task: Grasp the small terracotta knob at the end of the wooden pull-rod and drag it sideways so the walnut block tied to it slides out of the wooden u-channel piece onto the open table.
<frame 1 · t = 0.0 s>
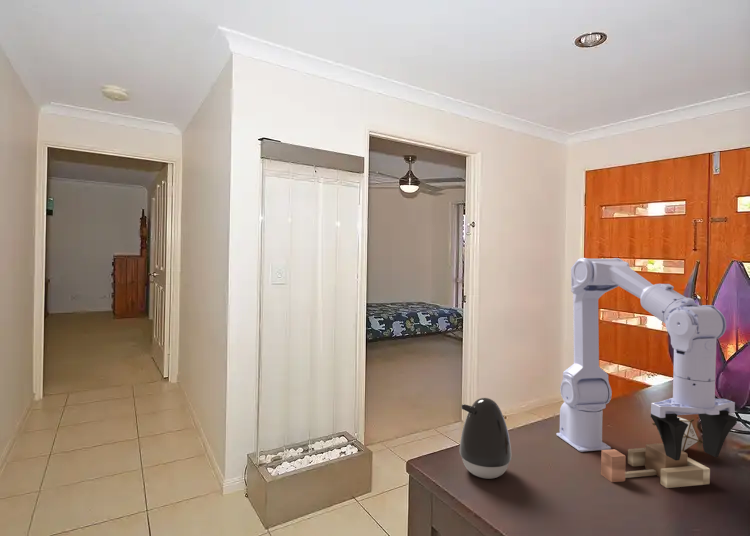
hand: (691, 456, 73), 10 cm above the table, tool pointing down, fingers open, 7 cm apart
wooden u-channel piece: (663, 473, 87), on the table
tethered block: (665, 473, 87), on the table
pump dispenser: (484, 473, 87), on the table
game die: (676, 450, 98), on the table
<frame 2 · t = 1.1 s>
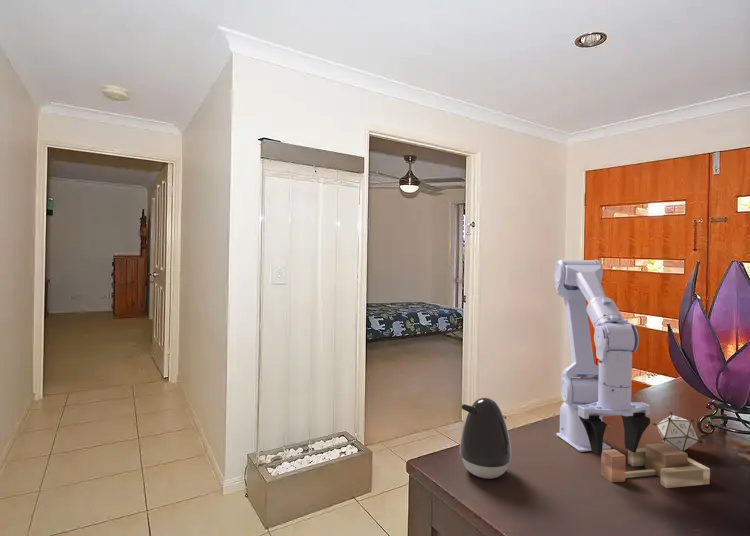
hand: (613, 451, 85), 5 cm above the table, tool pointing down, fingers open, 7 cm apart
nothing on the table moved.
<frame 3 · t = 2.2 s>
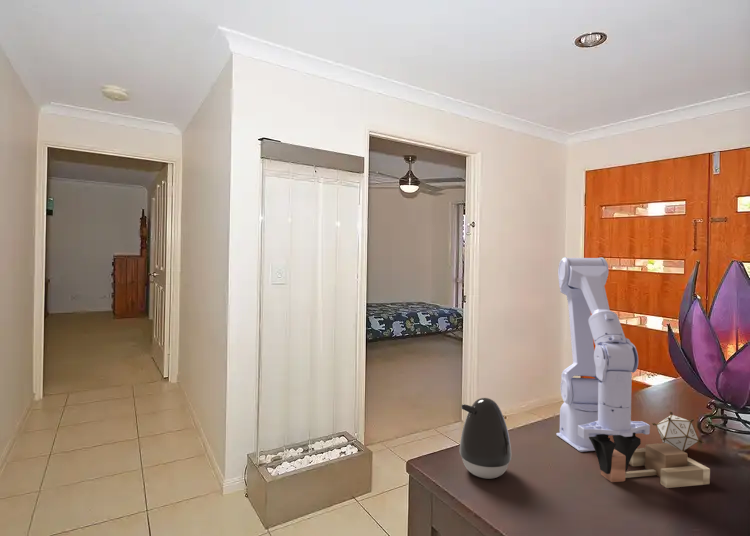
hand: (613, 470, 85), 1 cm above the table, tool pointing down, fingers closed on tethered block, 3 cm apart
tethered block: (665, 473, 87), on the table, touching gripper
everything else where it was.
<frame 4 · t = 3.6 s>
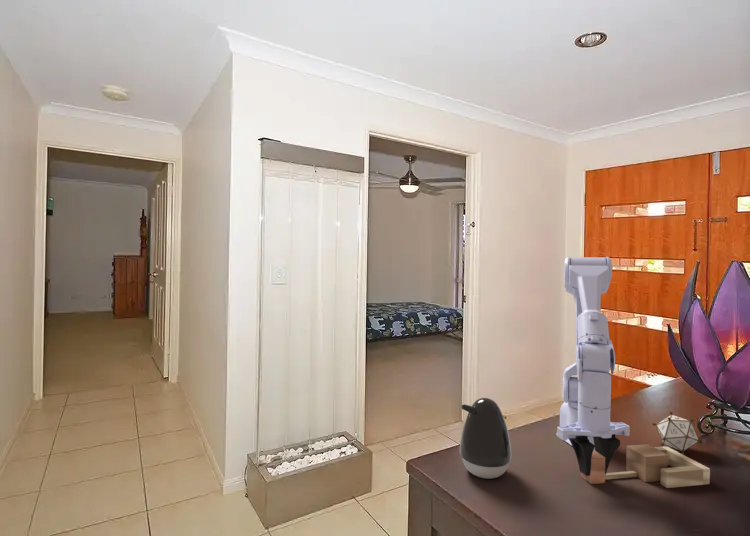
hand: (592, 472, 84), 1 cm above the table, tool pointing down, fingers closed on tethered block, 3 cm apart
tethered block: (646, 474, 86), on the table, touching gripper
everything else where it was.
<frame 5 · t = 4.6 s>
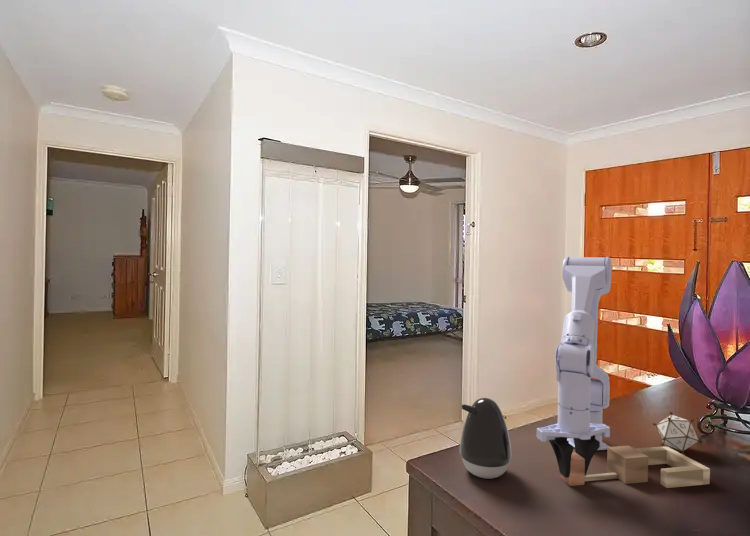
hand: (572, 474, 83), 1 cm above the table, tool pointing down, fingers closed on tethered block, 3 cm apart
tethered block: (626, 476, 85), on the table, touching gripper
everything else where it was.
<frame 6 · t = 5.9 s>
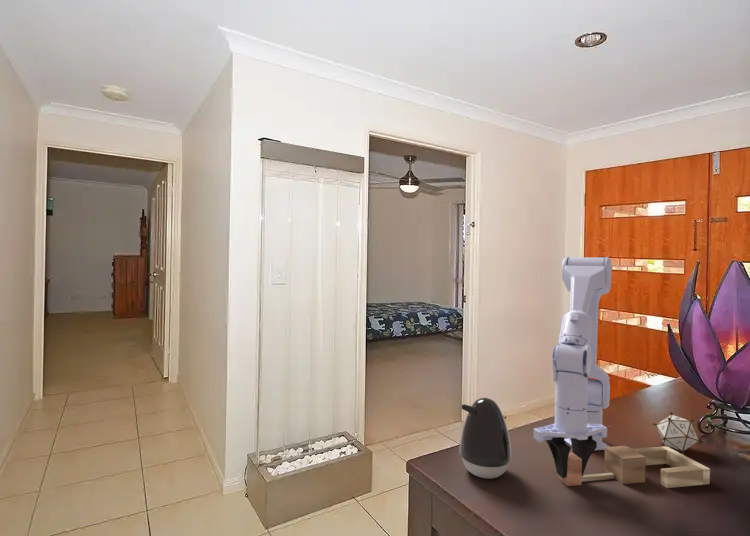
hand: (569, 474, 83), 1 cm above the table, tool pointing down, fingers closed on tethered block, 3 cm apart
tethered block: (624, 476, 85), on the table, touching gripper
everything else where it was.
when the fingers open (1 cm above the table, at t = 5.9 s): tethered block stays where it is, on the table.
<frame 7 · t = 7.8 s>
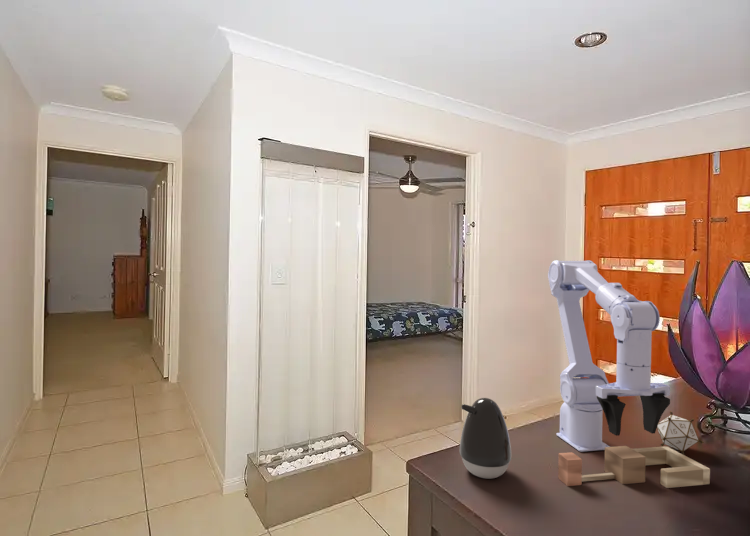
hand: (632, 432, 83), 10 cm above the table, tool pointing down, fingers open, 7 cm apart
tethered block: (624, 476, 85), on the table
everything else where it was.
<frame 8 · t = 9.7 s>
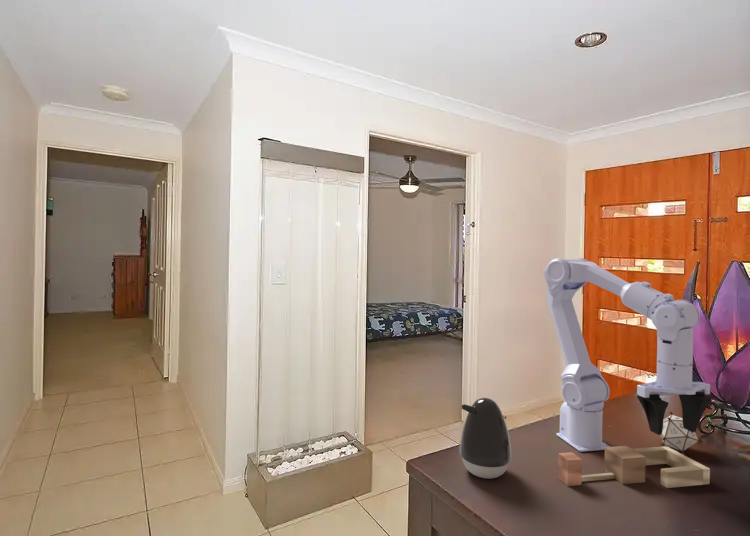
hand: (672, 431, 83), 10 cm above the table, tool pointing down, fingers open, 7 cm apart
nothing on the table moved.
at the end: tethered block inside the target area (3.0 cm from its centre), on the table; tethered block moved 9.4 cm from its start; the gripper is holding nothing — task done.
